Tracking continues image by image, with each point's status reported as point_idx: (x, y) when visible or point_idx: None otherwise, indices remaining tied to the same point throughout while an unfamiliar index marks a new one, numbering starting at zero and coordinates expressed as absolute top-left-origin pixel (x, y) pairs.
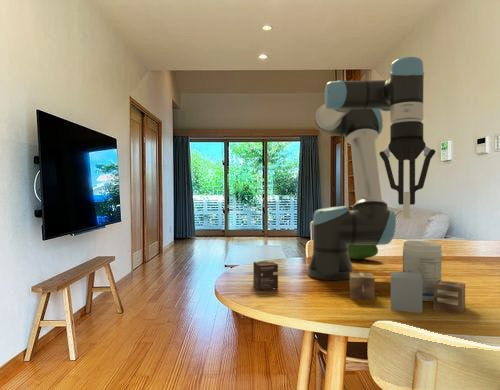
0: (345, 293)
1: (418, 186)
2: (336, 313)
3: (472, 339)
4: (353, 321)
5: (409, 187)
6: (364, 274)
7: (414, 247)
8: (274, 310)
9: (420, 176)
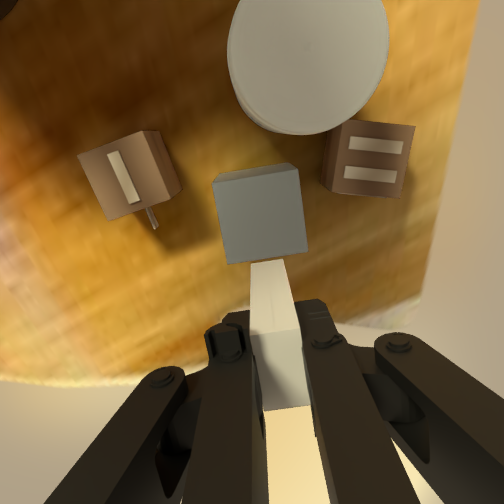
0: None
1: (385, 421)
2: (141, 320)
3: (382, 329)
4: (185, 345)
5: (305, 363)
6: (128, 162)
7: (282, 129)
8: (30, 362)
9: (444, 502)
